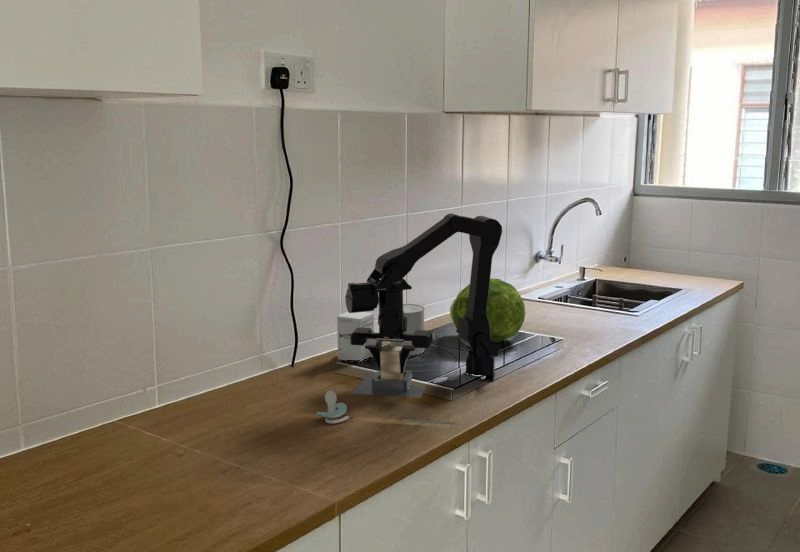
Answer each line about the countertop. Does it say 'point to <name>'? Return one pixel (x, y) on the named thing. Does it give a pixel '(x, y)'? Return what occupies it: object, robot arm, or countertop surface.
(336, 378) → the countertop surface
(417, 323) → the white stone cylinder
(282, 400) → the countertop surface
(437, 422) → the pad
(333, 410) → the pacifier
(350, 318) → the supplement box
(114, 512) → the countertop surface
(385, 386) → the pocket fixture
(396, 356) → the maple block
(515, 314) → the lettuce
